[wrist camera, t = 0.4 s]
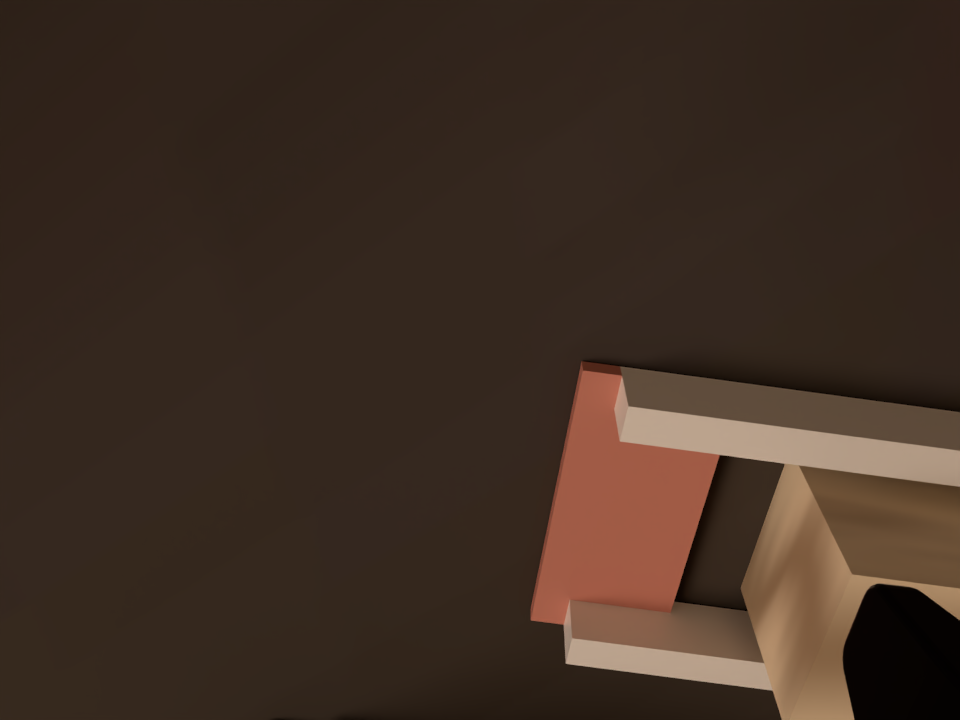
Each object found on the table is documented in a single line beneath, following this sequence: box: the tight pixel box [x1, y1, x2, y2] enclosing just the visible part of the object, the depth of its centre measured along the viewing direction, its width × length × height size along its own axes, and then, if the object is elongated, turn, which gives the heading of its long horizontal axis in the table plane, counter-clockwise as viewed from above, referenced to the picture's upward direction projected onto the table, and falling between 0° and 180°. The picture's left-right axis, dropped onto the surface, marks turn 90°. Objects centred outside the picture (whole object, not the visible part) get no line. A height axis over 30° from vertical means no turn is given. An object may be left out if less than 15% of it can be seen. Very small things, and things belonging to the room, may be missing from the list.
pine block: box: [741, 464, 960, 720], centre depth 22 cm, size 5×5×5 cm
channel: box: [531, 361, 960, 690], centre depth 23 cm, size 9×20×2 cm, turn 83°
